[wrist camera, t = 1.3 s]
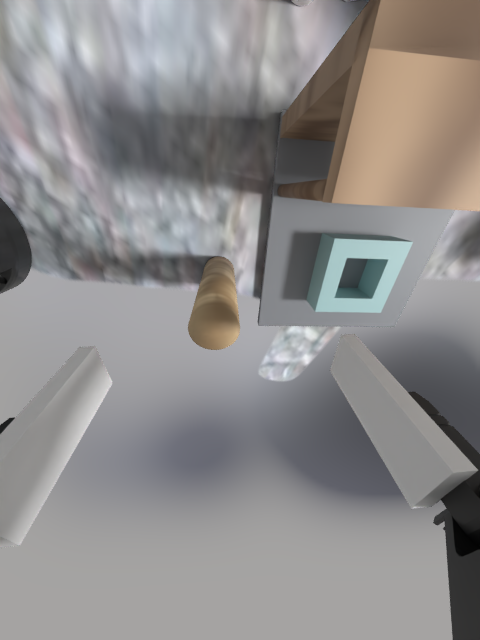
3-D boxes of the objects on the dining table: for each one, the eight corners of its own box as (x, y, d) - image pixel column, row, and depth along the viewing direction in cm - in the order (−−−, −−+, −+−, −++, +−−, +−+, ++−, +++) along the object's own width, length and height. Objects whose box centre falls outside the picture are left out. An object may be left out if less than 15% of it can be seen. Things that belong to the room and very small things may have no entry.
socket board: (257, 322, 33) (261, 339, 29) (280, 112, 20) (293, 94, 16) (390, 323, 34) (410, 340, 31) (486, 130, 22) (541, 117, 18)
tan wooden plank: (271, 196, 24) (331, 203, 10) (279, 119, 21) (385, -22, 7) (448, 206, 26) (702, 223, 12) (483, 136, 22) (893, 49, 9)
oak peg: (204, 284, 29) (190, 349, 17) (203, 255, 27) (185, 306, 15) (233, 285, 29) (238, 349, 17) (234, 256, 27) (241, 307, 15)
